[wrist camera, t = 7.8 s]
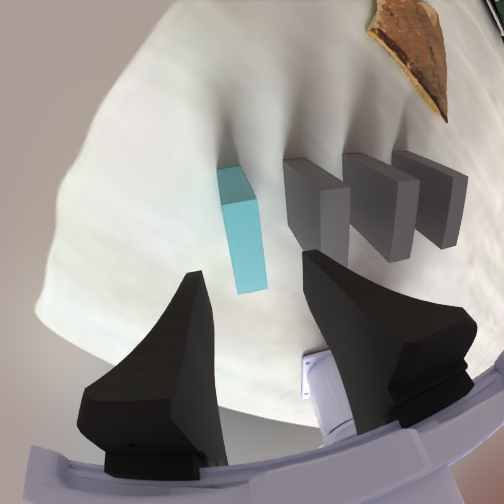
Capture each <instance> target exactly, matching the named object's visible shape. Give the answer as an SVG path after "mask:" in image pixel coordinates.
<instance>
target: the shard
mask: <svg viewBox="0 0 504 504" xmlns="http://www.w3.org/2000/svg"><path fill="white" fill-rule="evenodd" d="M376 3H377V10H376V13H375V16H374V17H373V19H372V21H371V23H370V24H369V26H368V28H367V30H366V32H367V34H368V35H369V36H370V37H372V38H373V39H375V40H376V41H377V42H379V43H380V44H381V45H382V46H383V47H384V48H385V49H386V50H387V51H388V52H389V54H390V55H391V56H392V57H393V58H394V59H395V60H396V61H397V62H398V63H399V65H400V66H401V67H402V69H403V70H404V72H405V74H406V75H407V76H408V77H409V79H410V80H411V82H412V83H413V84H414V85H415V87H416V88H417V90H418V91H419V92H420V94H421V95H422V97H423V99H424V100H425V101H426V102H427V103H428V105H429V106H431V108H432V109H433V111H434V112H435V113H436V114H438V115H439V116H441V117H442V119H443V120H444V121H445V122H446V123H448V120H447V94H446V91H447V86H446V84H447V67H446V60H445V58H446V53H445V47H444V39H443V34H442V30H441V27H440V22H439V17H438V14H437V12H436V11H435V9H434V8H432V7H431V6H429V5H427V4H426V3H424V2H423V1H420V0H376Z"/></svg>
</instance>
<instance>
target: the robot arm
mask: <svg viewBox="0 0 504 504" xmlns="http://www.w3.org/2000/svg"><path fill="white" fill-rule="evenodd" d="M302 261H303V292H304V295H305V297H306V300H307V303H308V306H309V309H310V311H311V313H312V315H313V317H314V319H315V321H316V323H317V325H318V327H319V329H320V331H321V333H322V335H323V337H324V339H325V341H326V343H327V345H328V346H329V348H330V350H326V351H322V352H319V353H315V354H311V355H307V356H304V357H303V359H302V399H308V398H310V399H311V402H312V405H313V408H314V411H315V414H316V417H317V420H318V423H319V426H320V429H321V432H322V434H323V435H324V437H323V438H322V440H323V443H324V445H322V446H320V447H319V448H317V449H314V450H310V451H306V452H302V453H298V454H294V455H289V456H285V457H280V458H275V459H269V460H264V461H258V462H252V463H246V464H238V465H230V466H229V465H228V461H227V456H226V451H225V446H224V441H223V436H222V429H221V424H220V418H219V410H218V404H217V396H216V388H215V376H214V321H213V313H212V307H211V303H210V300H209V296H208V292H207V289H206V285H205V281H204V278H203V274H202V270H201V271H195V272H190V273H187V274H186V275H185V277H184V278H183V280H182V282H181V284H180V286H179V288H178V289H177V291H176V293H175V295H174V297H173V298H172V300H171V302H170V303H169V305H168V307H167V308H166V310H165V311H164V313H163V314H162V316H161V317H160V319H159V320H158V322H157V323H156V324H155V326H154V327H153V328H152V330H151V331H150V332H149V333H148V334H147V336H146V337H145V338H144V339H143V340H142V341H141V342H140V343H139V344H138V345H137V346H136V348H135V349H134V350H133V351H132V352H131V353H130V354H129V355H128V356H127V357H126V358H124V359H123V360H122V361H121V362H120V363H119V364H118V365H116V366H115V367H114V368H113V369H112V370H110V371H109V372H108V373H106V374H105V375H104V376H102V377H101V378H100V379H98V380H97V381H95V382H94V383H92V384H91V385H90V386H88V387H87V388H85V390H84V393H83V397H82V400H81V405H80V409H79V415H78V419H77V427H78V429H79V431H80V432H81V433H82V434H83V435H84V436H85V437H86V438H87V439H89V440H90V441H91V442H92V443H94V444H95V445H96V446H98V447H99V448H101V449H102V450H104V451H105V452H106V453H105V463H104V465H96V464H90V463H84V462H78V461H72V460H69V459H68V458H67V457H65V456H64V455H62V454H61V453H59V452H57V451H54V450H51V449H47V448H42V447H38V446H34V445H32V446H31V450H30V455H29V460H28V465H27V471H26V477H25V484H24V492H23V499H24V500H25V501H27V502H29V503H31V504H465V503H464V501H463V498H462V496H461V493H460V491H459V489H458V487H457V484H456V482H455V480H454V478H453V476H452V473H451V471H450V469H449V466H450V465H452V464H453V463H455V462H456V461H458V460H459V459H461V458H462V457H463V456H465V455H466V454H468V453H469V452H470V451H472V450H473V449H474V448H476V447H477V446H478V445H480V444H481V443H482V442H484V441H485V440H486V439H487V438H489V437H490V436H491V435H492V434H494V433H495V432H496V431H497V430H498V429H499V428H500V427H502V426H503V425H504V351H503V352H502V353H501V354H500V355H499V357H498V358H497V360H496V361H495V363H494V365H493V366H491V367H490V368H489V369H487V370H486V371H484V372H483V373H481V374H480V375H478V376H477V377H475V378H474V379H471V378H470V376H469V375H468V374H467V372H466V371H465V370H466V369H467V368H468V364H467V363H466V362H465V360H464V357H465V356H466V354H467V352H468V350H469V349H470V347H471V345H472V343H473V341H474V339H475V337H476V334H477V323H476V322H475V321H474V320H473V319H472V318H471V316H470V315H469V314H468V313H467V312H466V311H465V310H464V309H463V308H462V307H455V306H448V305H442V304H436V303H432V302H427V301H423V300H419V299H416V298H412V297H409V296H406V295H403V294H400V293H397V292H395V291H392V290H390V289H387V288H385V287H383V286H380V285H378V284H376V283H374V282H372V281H370V280H368V279H366V278H364V277H362V276H360V275H358V274H356V273H355V272H353V271H351V270H350V269H348V268H346V267H345V266H343V265H341V264H340V263H338V262H336V261H335V260H333V259H332V258H330V257H329V256H327V255H325V254H324V253H322V252H321V251H319V250H317V249H314V250H309V251H304V252H302Z"/></svg>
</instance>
